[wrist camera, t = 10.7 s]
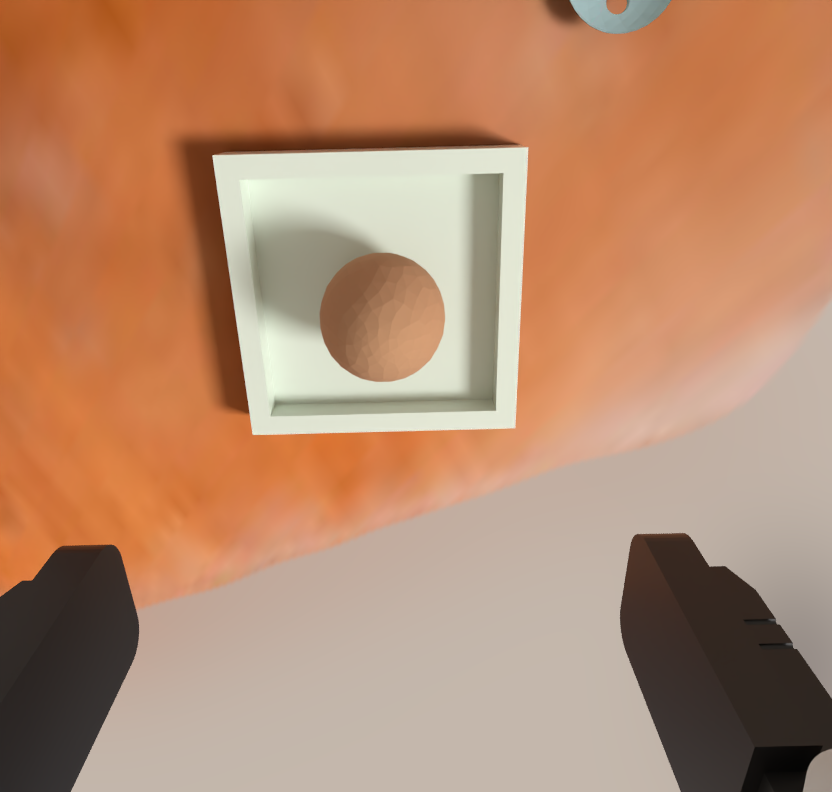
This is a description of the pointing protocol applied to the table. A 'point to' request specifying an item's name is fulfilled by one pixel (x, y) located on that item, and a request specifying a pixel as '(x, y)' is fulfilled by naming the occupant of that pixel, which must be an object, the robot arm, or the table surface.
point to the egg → (382, 317)
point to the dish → (361, 235)
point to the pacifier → (640, 11)
